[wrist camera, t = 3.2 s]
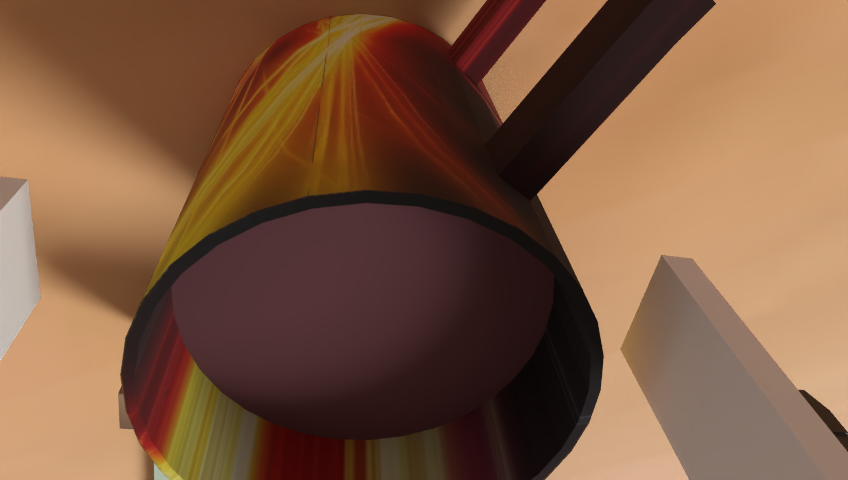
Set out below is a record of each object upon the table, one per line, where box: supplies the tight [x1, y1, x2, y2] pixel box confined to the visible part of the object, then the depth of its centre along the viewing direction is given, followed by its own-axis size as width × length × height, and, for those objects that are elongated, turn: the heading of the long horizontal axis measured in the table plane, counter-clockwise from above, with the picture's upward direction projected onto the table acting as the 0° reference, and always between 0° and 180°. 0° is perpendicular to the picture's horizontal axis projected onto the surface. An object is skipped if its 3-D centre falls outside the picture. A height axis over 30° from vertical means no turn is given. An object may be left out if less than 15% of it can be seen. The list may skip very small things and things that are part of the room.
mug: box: [120, 0, 716, 480], centre depth 18 cm, size 10×14×12 cm
